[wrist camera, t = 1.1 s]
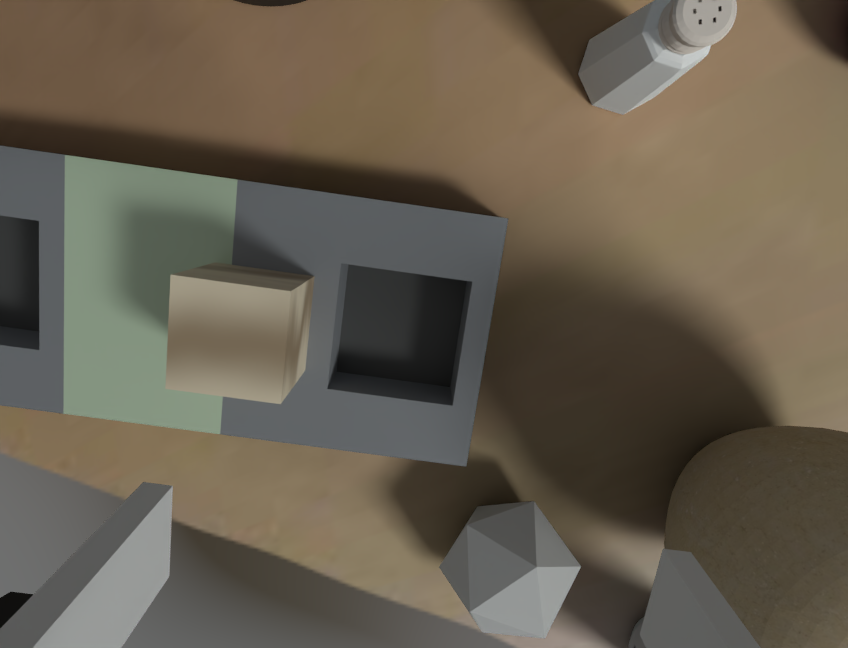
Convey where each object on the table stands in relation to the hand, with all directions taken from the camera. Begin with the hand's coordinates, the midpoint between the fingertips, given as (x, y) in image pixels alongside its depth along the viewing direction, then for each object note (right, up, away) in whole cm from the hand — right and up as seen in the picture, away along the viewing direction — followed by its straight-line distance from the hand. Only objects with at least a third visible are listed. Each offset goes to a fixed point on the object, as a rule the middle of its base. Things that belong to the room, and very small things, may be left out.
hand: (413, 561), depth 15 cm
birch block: (-10, +7, +19) cm, 23 cm away
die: (+6, -9, +27) cm, 29 cm away
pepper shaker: (+13, +22, +20) cm, 33 cm away
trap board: (-14, +8, +23) cm, 28 cm away
